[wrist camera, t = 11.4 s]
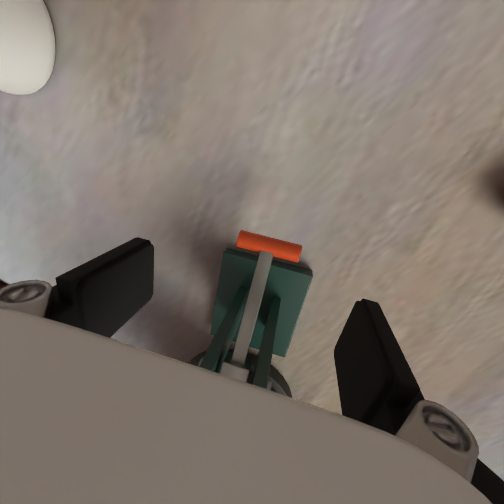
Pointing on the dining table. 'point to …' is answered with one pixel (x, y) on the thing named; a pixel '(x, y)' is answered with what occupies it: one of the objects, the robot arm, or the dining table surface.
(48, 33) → the coffeepot
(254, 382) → the switch bracket
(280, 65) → the dining table surface
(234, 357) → the switch lever
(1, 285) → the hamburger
